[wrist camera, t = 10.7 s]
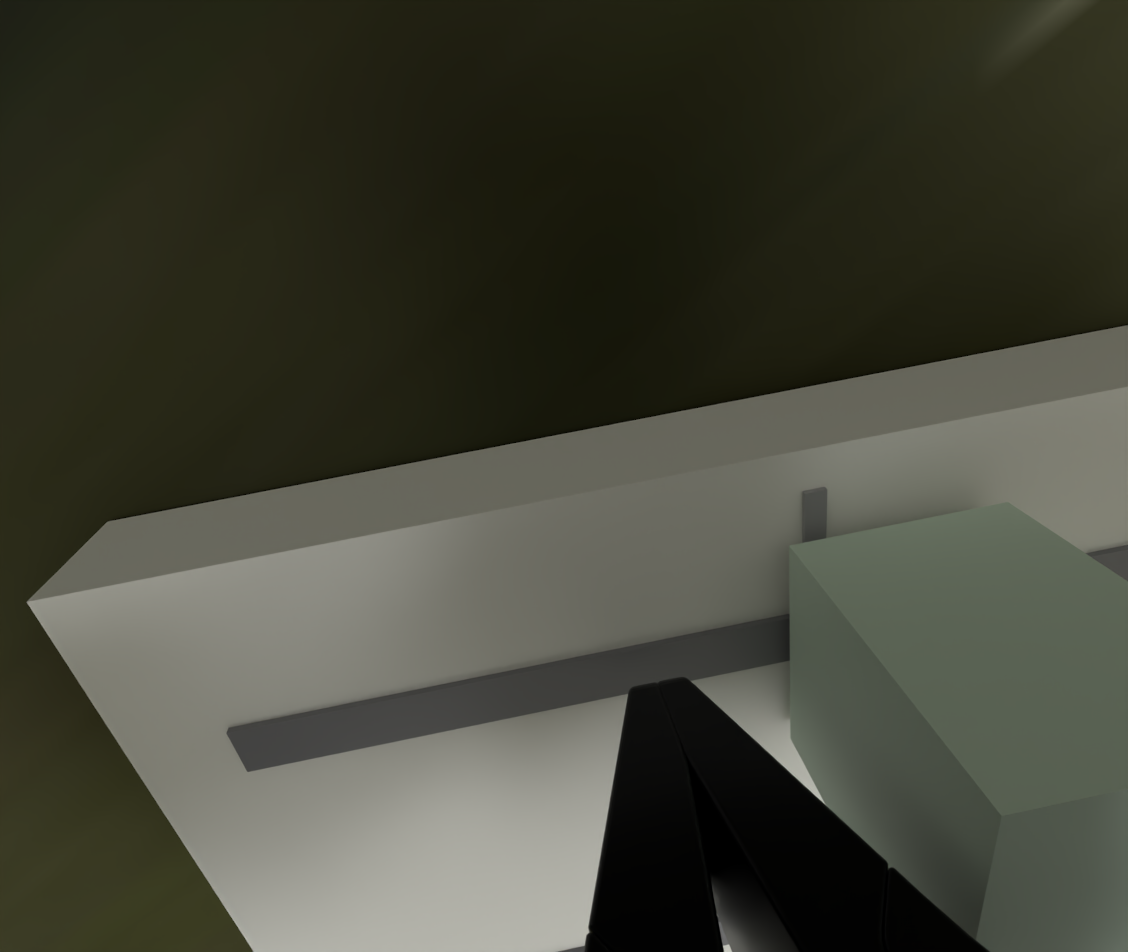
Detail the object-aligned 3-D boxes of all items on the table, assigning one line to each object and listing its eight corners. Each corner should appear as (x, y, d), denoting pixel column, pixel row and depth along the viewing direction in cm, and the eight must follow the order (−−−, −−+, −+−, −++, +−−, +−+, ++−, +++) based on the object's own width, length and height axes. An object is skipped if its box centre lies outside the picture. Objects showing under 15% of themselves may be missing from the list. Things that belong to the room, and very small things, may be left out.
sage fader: (975, 699, 10) (1232, 982, 7) (789, 738, 10) (953, 1047, 7) (1008, 502, 9) (1364, 737, 5) (788, 545, 9) (1000, 816, 5)
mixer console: (1164, 812, 16) (1253, 898, 15) (361, 987, 16) (345, 1100, 14) (1365, 278, 11) (1556, 306, 9) (107, 521, 10) (21, 606, 8)
